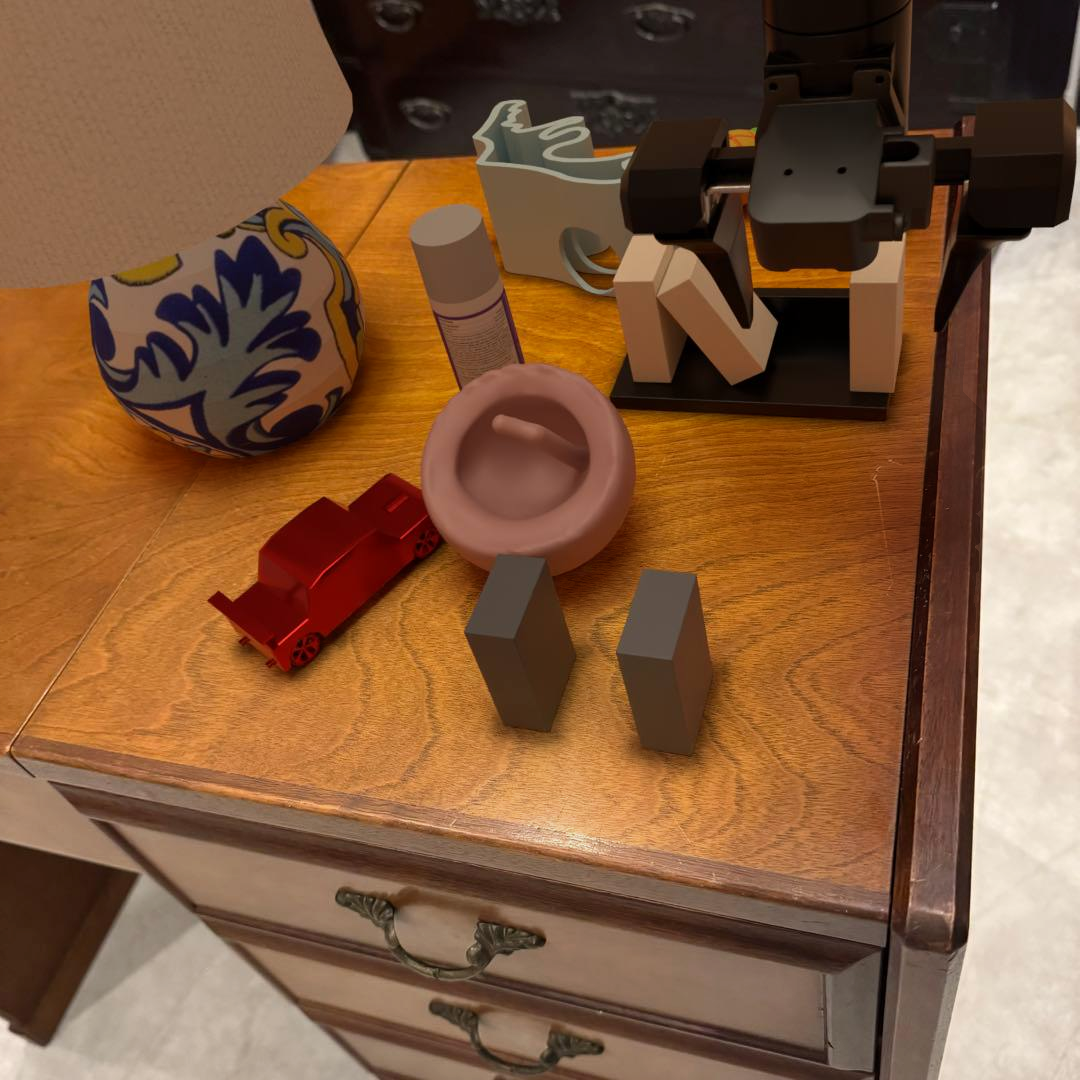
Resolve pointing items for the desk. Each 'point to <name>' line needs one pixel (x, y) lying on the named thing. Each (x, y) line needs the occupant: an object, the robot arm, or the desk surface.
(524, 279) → the desk surface
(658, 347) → the rack cream book
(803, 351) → the dark wooden base
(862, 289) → the cream book
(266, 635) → the toy car
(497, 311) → the container
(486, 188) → the squiggly pen holder
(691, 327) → the rack cream book
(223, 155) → the table lamp
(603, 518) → the mortar and pestle
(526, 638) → the dark grey rectangular block
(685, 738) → the gray rectangular block
